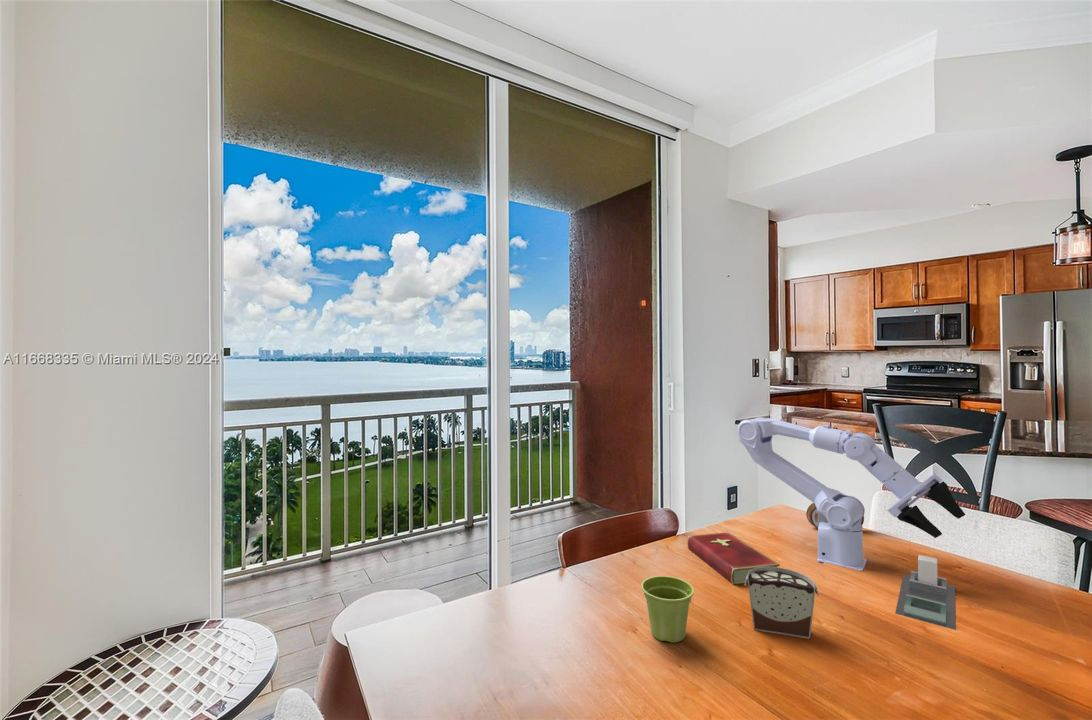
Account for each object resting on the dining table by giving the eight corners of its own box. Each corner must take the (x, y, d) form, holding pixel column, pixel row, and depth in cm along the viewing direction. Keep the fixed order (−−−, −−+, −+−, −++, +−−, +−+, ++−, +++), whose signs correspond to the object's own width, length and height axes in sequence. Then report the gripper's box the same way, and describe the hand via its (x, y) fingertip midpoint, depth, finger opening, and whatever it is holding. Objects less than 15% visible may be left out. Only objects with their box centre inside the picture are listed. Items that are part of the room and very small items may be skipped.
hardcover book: (732, 587, 107) (732, 568, 107) (687, 550, 127) (687, 534, 127) (779, 581, 109) (779, 563, 109) (728, 546, 130) (727, 531, 129)
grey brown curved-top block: (812, 622, 91) (811, 570, 91) (819, 640, 85) (818, 584, 85) (743, 611, 95) (742, 561, 95) (745, 628, 89) (744, 575, 89)
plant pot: (665, 655, 81) (665, 604, 82) (631, 628, 90) (631, 582, 90) (705, 640, 86) (705, 591, 86) (669, 615, 94) (669, 571, 94)
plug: (918, 586, 104) (917, 559, 104) (919, 580, 107) (918, 554, 107) (937, 591, 102) (936, 563, 102) (937, 585, 105) (937, 557, 105)
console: (895, 615, 93) (895, 605, 93) (903, 575, 110) (903, 567, 110) (955, 631, 87) (955, 621, 87) (954, 587, 104) (954, 578, 104)
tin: (860, 529, 140) (860, 501, 140) (866, 533, 137) (865, 504, 137) (805, 527, 142) (805, 499, 142) (810, 531, 139) (809, 502, 139)
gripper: (879, 486, 105) (938, 539, 98) (923, 452, 109) (983, 501, 101) (865, 497, 111) (920, 548, 104) (907, 465, 114) (963, 512, 107)
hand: (950, 526), depth 103 cm, fingers open, 7 cm apart
